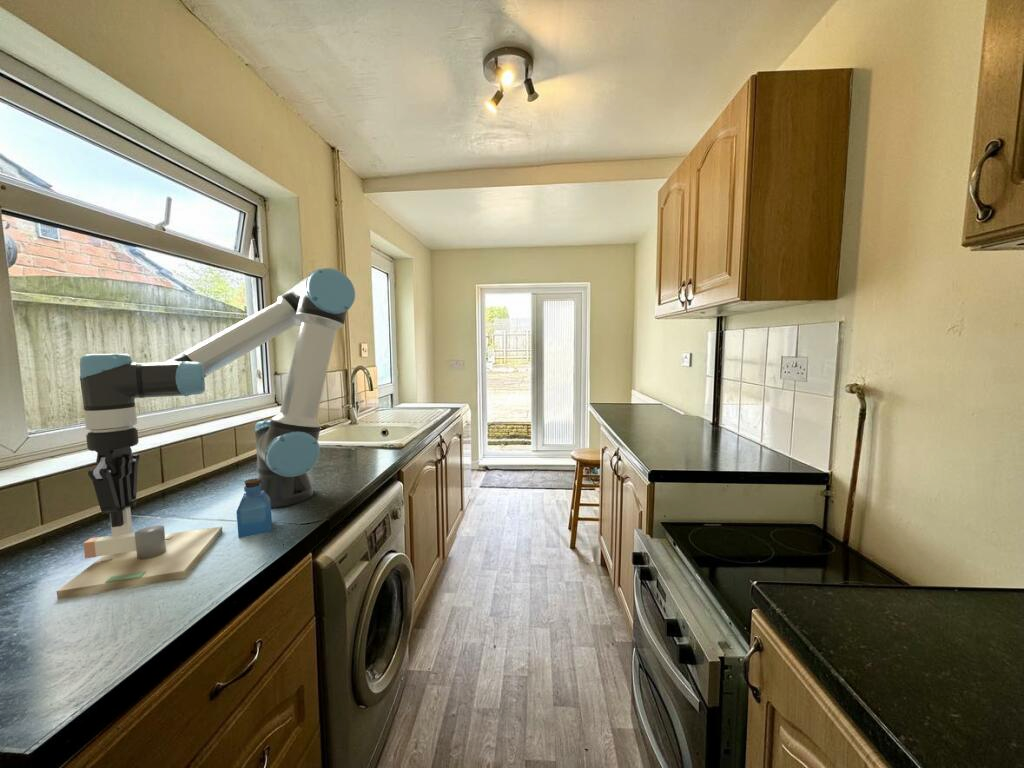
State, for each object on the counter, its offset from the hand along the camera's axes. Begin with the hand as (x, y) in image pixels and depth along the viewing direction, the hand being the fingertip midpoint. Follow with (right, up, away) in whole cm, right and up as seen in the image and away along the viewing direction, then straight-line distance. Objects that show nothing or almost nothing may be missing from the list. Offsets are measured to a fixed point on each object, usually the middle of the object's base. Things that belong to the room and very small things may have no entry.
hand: (122, 538), depth 84 cm
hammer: (+6, -2, -5) cm, 8 cm away
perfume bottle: (+21, -2, +10) cm, 24 cm away
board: (+9, -3, -3) cm, 10 cm away
